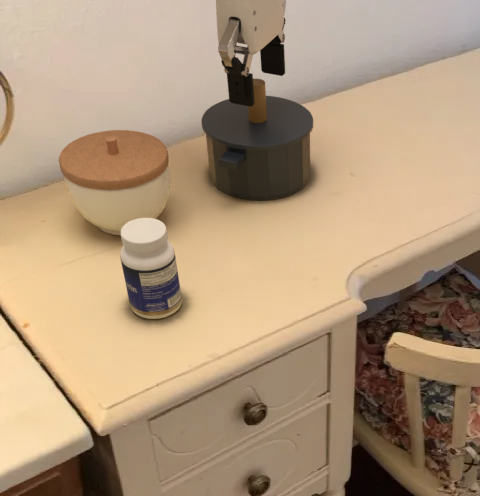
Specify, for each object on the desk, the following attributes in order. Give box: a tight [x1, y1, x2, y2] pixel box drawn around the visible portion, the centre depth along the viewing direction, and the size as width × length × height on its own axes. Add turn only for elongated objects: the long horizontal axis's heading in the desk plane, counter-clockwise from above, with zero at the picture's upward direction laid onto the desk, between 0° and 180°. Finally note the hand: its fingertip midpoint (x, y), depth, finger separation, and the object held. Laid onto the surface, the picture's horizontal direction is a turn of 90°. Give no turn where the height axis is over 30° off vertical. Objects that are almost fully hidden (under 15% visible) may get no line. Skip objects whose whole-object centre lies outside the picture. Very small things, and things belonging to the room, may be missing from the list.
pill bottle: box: [119, 218, 183, 320], centre depth 90 cm, size 6×6×10 cm
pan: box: [205, 133, 311, 201], centre depth 113 cm, size 14×19×8 cm
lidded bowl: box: [58, 129, 171, 236], centre depth 102 cm, size 13×13×11 cm
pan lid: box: [201, 78, 314, 150], centre depth 108 cm, size 15×15×6 cm
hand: (258, 88), depth 107 cm, fingers open, 9 cm apart
